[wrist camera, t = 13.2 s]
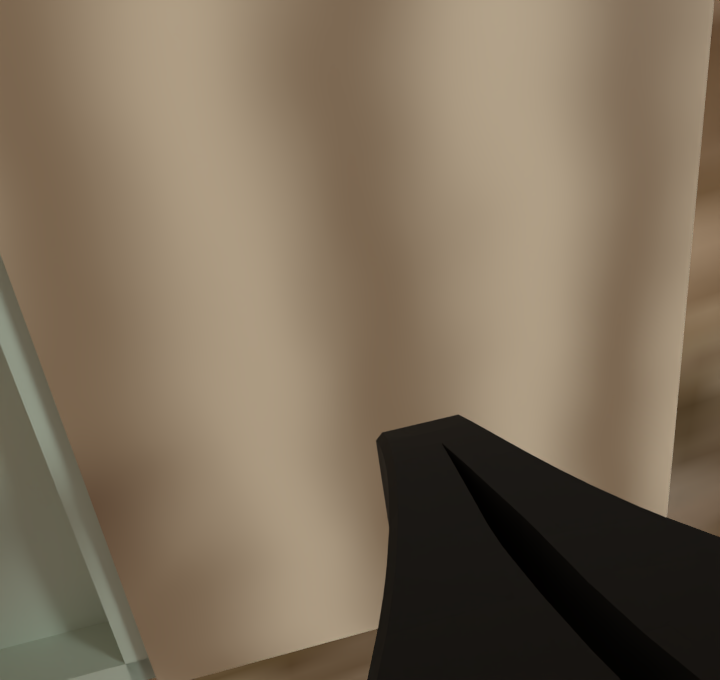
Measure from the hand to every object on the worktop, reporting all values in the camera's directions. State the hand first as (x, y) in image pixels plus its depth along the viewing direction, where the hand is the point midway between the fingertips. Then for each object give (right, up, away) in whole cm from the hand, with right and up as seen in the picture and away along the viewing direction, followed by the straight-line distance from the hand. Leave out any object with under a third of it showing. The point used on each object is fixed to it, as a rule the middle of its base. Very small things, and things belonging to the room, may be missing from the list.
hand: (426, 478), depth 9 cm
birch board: (-1, +4, +8) cm, 9 cm away
